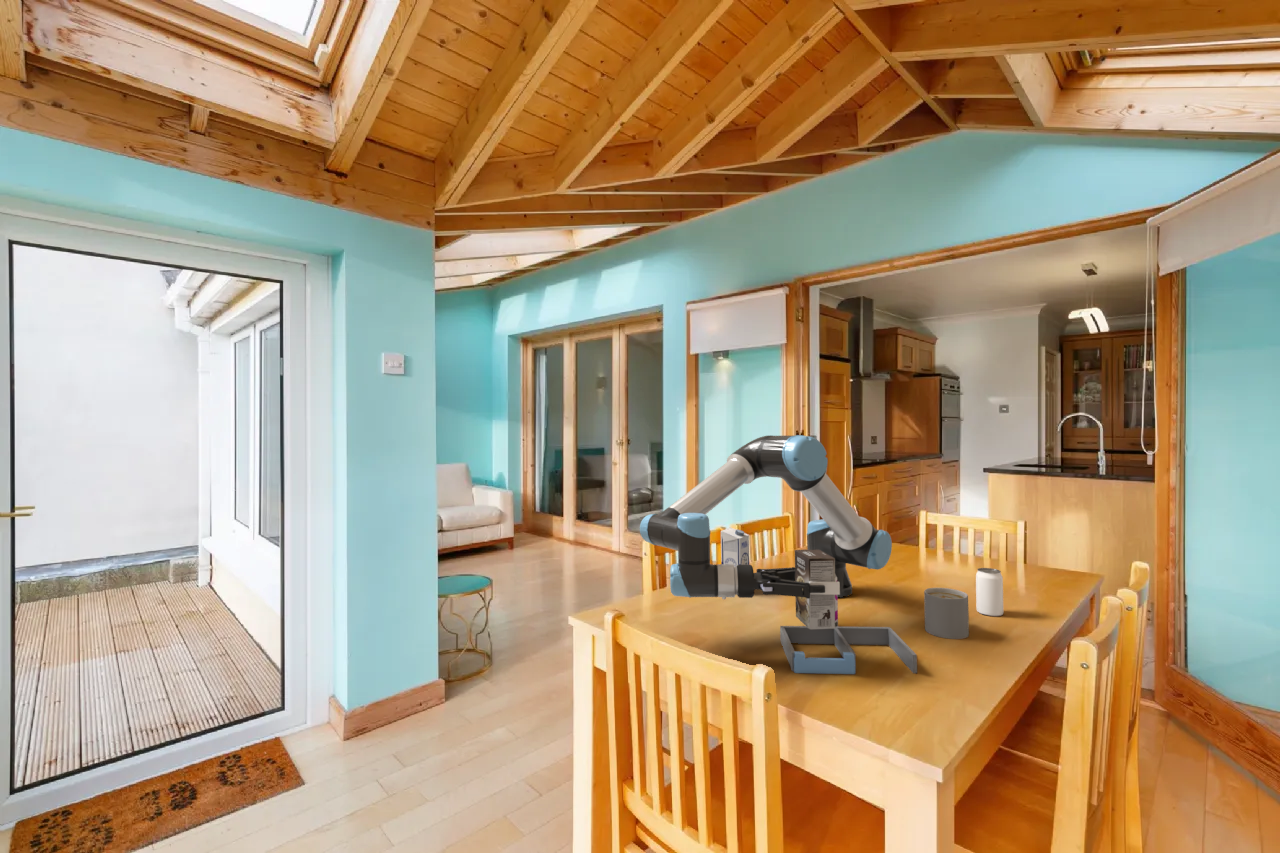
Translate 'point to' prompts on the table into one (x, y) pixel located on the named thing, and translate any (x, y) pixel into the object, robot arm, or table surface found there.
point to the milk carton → (734, 547)
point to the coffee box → (818, 607)
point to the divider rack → (840, 647)
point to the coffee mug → (946, 613)
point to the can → (989, 592)
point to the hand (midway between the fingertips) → (833, 581)
